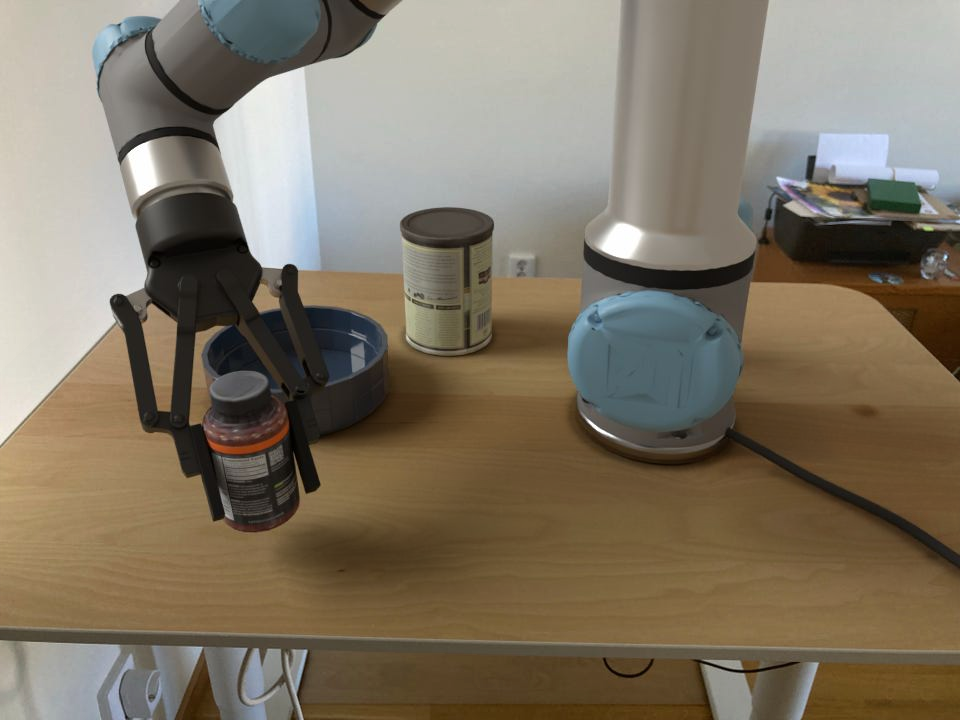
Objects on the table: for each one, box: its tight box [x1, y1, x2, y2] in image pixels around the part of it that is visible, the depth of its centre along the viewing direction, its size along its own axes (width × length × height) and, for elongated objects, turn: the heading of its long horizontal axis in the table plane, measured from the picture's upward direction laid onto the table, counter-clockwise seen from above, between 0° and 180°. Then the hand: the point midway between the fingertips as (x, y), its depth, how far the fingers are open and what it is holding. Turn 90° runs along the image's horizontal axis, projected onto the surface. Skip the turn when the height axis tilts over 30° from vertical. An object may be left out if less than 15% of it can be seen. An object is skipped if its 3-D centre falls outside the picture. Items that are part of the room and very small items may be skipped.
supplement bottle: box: [201, 371, 301, 534], centre depth 56 cm, size 6×6×11 cm
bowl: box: [200, 304, 391, 436], centre depth 79 cm, size 18×18×6 cm
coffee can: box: [399, 206, 495, 357], centre depth 88 cm, size 10×10×14 cm
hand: (267, 502), depth 55 cm, fingers closed on supplement bottle, 6 cm apart
